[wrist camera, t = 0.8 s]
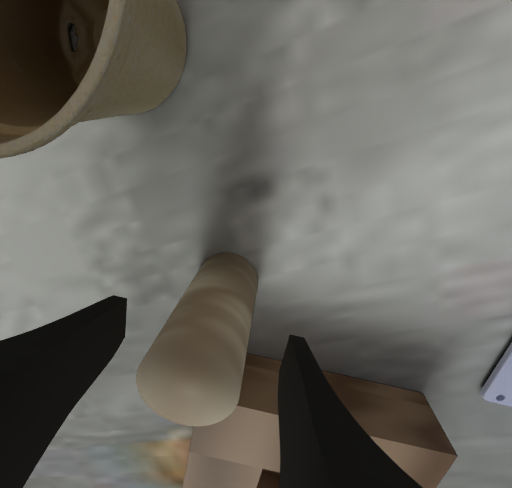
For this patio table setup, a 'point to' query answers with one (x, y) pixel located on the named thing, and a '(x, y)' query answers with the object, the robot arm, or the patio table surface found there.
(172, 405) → the peg
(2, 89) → the flower pot
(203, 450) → the socket block
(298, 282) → the patio table surface
